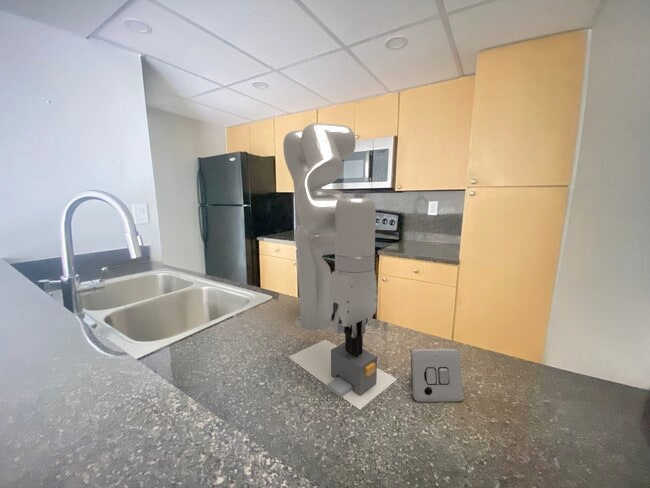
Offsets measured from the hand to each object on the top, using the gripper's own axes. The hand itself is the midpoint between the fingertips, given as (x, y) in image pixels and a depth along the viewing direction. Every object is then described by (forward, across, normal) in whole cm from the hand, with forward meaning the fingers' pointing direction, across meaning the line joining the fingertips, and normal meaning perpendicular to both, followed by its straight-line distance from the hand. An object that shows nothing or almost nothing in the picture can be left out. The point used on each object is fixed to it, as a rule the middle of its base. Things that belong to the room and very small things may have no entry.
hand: (353, 352), depth 53 cm
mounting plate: (+8, -1, -5) cm, 9 cm away
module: (+6, 0, 0) cm, 6 cm away
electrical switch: (+8, -10, +12) cm, 17 cm away
